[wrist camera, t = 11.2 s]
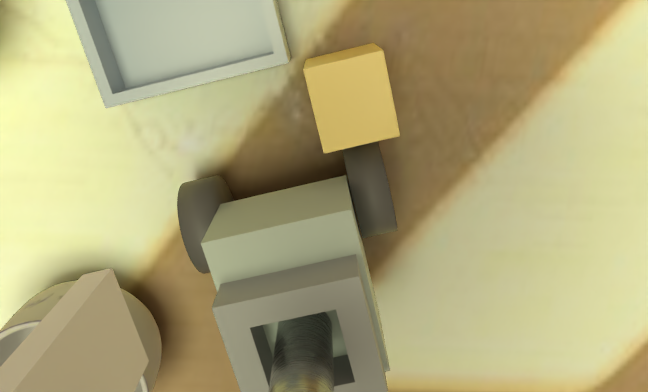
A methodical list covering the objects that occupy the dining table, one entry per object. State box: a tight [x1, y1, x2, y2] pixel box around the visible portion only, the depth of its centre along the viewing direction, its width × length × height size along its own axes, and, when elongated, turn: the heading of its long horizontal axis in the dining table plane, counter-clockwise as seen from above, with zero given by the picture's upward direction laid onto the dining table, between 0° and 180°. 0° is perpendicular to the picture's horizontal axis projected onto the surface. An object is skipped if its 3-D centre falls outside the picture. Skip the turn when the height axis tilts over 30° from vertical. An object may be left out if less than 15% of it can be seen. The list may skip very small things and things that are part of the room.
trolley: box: [177, 141, 397, 392], centre depth 34 cm, size 13×12×12 cm
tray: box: [66, 0, 291, 108], centre depth 34 cm, size 11×7×3 cm, turn 103°
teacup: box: [0, 280, 162, 392], centre depth 39 cm, size 14×11×8 cm
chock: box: [303, 43, 400, 154], centre depth 34 cm, size 4×5×6 cm
